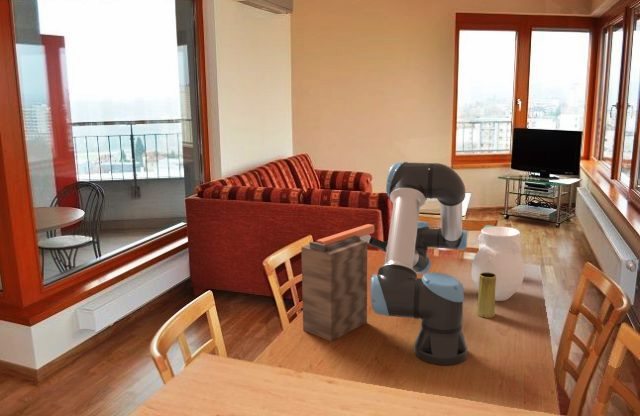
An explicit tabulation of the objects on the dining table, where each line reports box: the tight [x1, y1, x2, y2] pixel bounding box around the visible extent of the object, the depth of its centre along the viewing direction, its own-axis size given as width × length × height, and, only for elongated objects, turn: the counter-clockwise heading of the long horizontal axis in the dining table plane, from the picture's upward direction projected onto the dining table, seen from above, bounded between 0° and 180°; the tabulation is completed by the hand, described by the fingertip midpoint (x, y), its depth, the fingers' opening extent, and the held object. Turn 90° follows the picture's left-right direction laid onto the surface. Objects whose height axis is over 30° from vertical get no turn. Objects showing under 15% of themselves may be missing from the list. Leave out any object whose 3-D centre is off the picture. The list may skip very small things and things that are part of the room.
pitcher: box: [470, 225, 525, 302], centre depth 205 cm, size 19×18×25 cm
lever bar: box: [316, 223, 375, 246], centre depth 182 cm, size 26×3×3 cm, turn 138°
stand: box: [300, 236, 368, 342], centre depth 181 cm, size 18×12×30 cm, turn 138°
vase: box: [475, 272, 496, 319], centre depth 190 cm, size 6×6×14 cm
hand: (374, 237), depth 194 cm, fingers open, 13 cm apart
